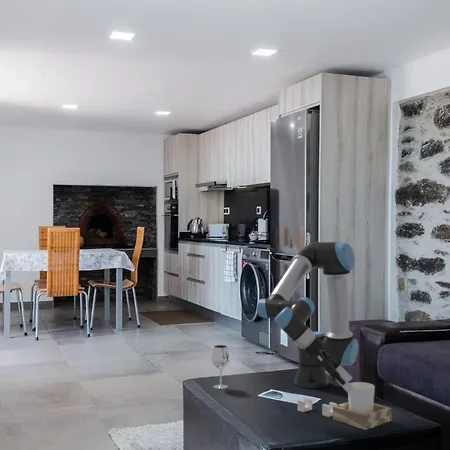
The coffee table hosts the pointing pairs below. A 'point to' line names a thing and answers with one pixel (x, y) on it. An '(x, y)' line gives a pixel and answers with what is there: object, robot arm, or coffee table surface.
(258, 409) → the coffee table surface
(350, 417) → the square wooden tray
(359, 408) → the candle holder
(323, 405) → the clips
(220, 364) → the wineglass
